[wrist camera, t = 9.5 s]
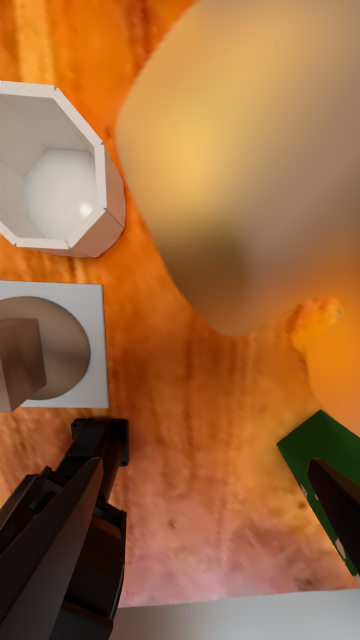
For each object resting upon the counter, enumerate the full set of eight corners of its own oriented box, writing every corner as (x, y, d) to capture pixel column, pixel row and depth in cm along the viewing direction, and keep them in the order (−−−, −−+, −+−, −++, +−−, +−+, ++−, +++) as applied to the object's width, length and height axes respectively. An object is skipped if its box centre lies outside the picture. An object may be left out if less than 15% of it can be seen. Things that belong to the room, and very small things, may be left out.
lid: (94, 395, 19) (67, 433, 15) (-7, 393, 19) (-70, 432, 14) (86, 298, 17) (51, 304, 12) (-29, 293, 17) (-113, 298, 12)
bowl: (127, 260, 17) (108, 251, 12) (33, 255, 17) (-25, 244, 12) (125, 152, 15) (101, 89, 10) (19, 144, 15) (-59, 75, 10)
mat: (109, 405, 20) (107, 408, 20) (-15, 403, 20) (-19, 406, 19) (102, 284, 17) (101, 284, 17) (-44, 278, 17) (-49, 278, 16)
